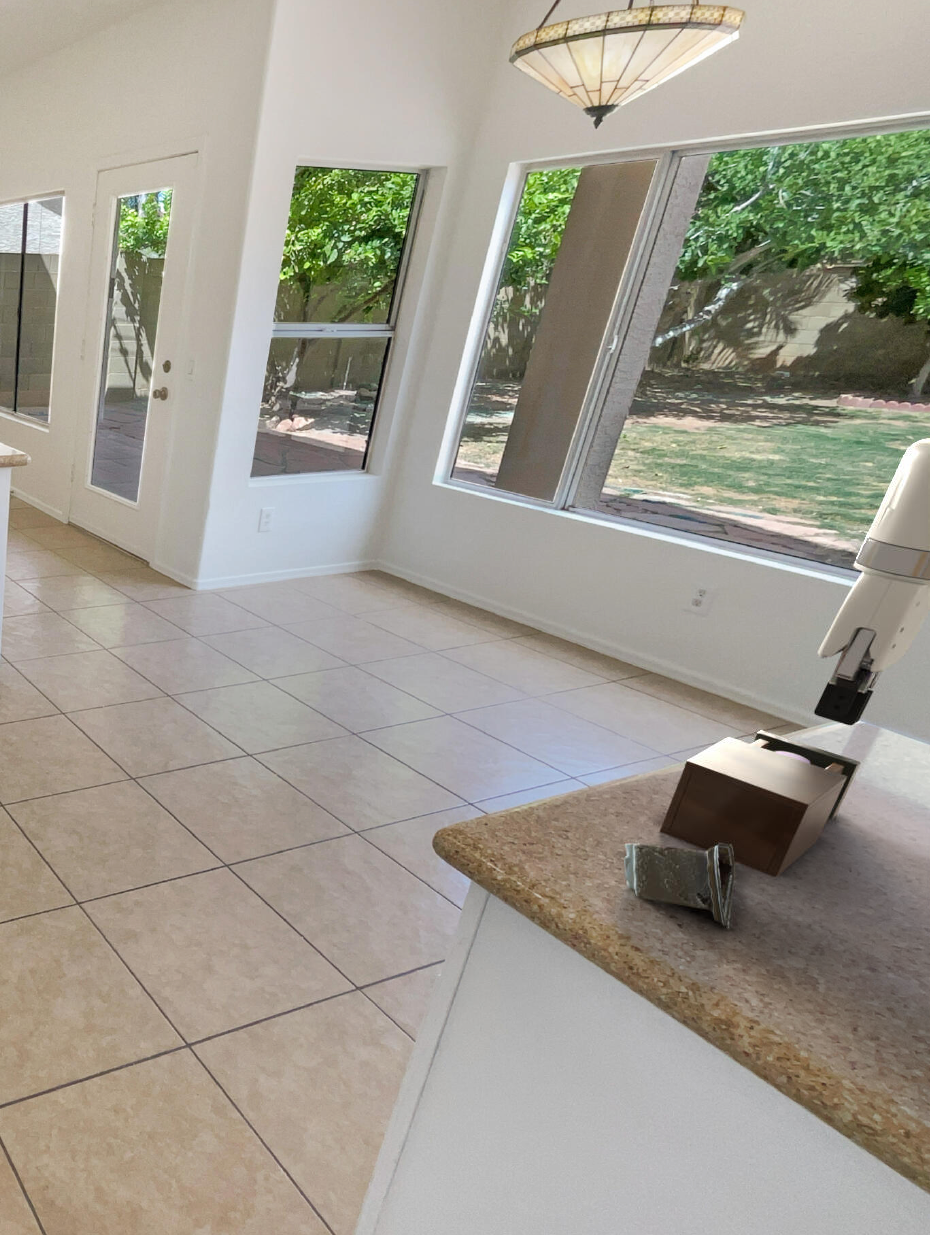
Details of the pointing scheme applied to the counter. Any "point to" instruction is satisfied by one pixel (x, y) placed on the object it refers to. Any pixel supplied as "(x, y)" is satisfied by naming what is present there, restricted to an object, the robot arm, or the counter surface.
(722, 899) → the squashed foil tin
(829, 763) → the drawer
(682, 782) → the cabinet
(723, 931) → the counter surface
